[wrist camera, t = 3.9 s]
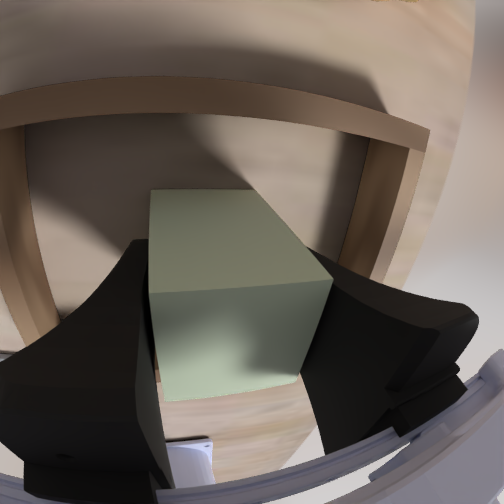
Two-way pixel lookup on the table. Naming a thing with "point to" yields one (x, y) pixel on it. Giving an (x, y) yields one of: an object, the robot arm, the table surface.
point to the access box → (200, 102)
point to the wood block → (229, 293)
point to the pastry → (401, 0)
